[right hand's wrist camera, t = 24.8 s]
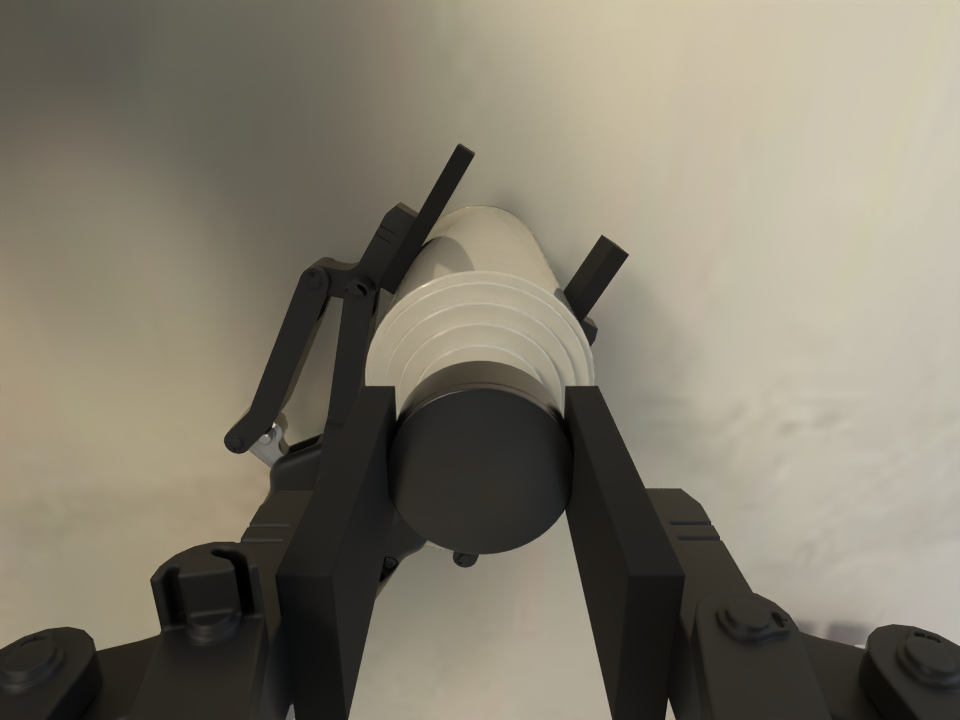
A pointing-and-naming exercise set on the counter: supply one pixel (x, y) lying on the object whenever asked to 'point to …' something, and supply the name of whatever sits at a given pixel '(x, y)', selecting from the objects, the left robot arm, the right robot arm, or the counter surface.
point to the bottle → (479, 309)
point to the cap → (480, 458)
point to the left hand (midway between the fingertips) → (542, 198)
